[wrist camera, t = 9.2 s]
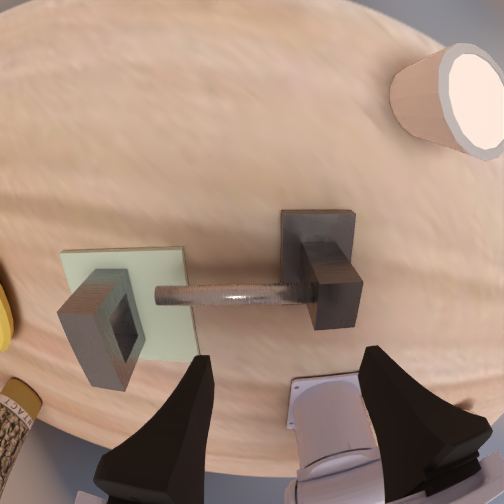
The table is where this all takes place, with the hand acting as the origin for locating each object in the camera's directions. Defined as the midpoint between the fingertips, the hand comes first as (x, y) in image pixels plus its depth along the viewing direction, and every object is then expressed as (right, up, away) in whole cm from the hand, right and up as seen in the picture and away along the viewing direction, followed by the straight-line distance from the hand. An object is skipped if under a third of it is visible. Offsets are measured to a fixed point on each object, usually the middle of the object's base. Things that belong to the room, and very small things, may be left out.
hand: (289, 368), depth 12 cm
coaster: (-12, 0, +10) cm, 16 cm away
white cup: (+11, +16, +4) cm, 20 cm away
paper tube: (-37, -17, +18) cm, 44 cm away
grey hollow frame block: (-13, +1, +11) cm, 16 cm away
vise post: (-1, +5, +9) cm, 10 cm away
